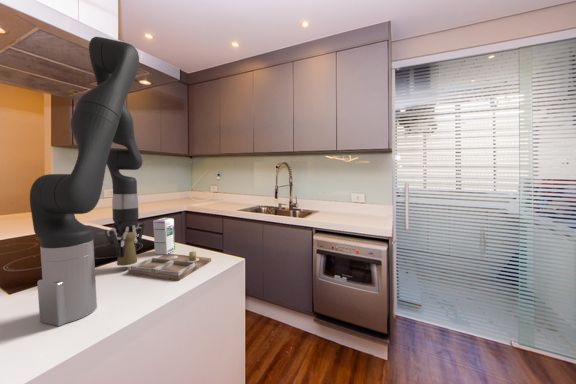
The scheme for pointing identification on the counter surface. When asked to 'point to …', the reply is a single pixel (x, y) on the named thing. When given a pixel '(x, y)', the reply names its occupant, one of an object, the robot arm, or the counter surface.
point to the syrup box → (164, 235)
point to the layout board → (169, 266)
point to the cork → (128, 251)
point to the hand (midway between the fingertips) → (126, 254)
